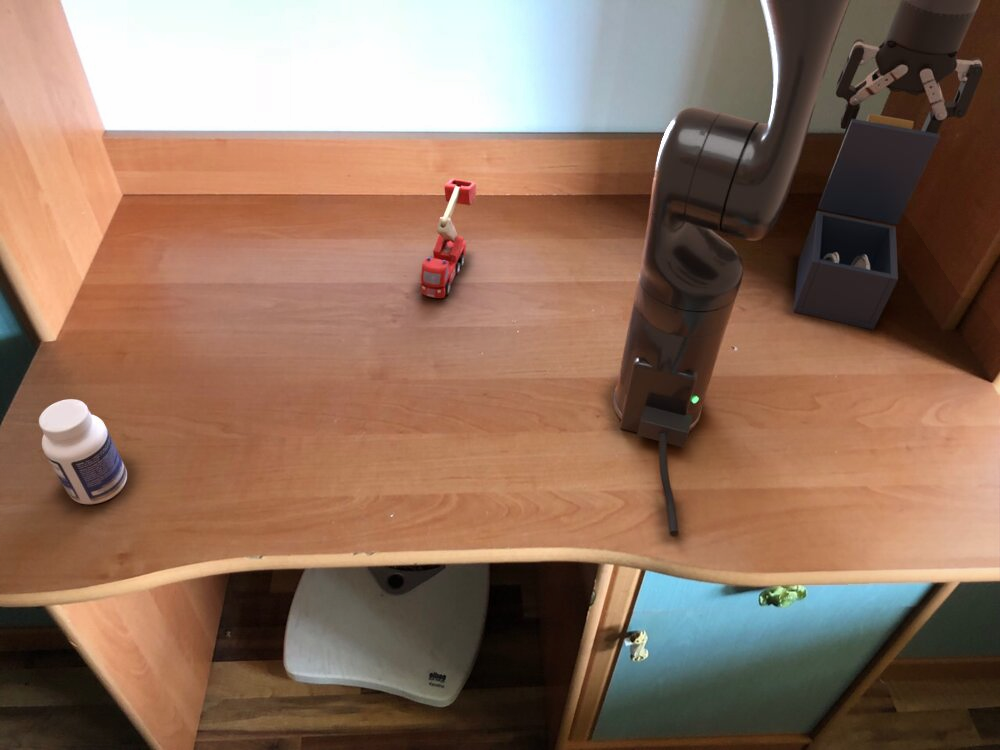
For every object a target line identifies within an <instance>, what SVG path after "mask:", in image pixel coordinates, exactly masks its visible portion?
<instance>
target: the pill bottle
mask: <svg viewBox="0 0 1000 750" xmlns="http://www.w3.org/2000/svg"><path fill="white" fill-rule="evenodd" d="M38 425H39V427H40V429H41V431H42V433H43V436H42V438H41V448H42V451H43V453H44V455H45V457H46V458H47V460H48V462H49V464H50V465H51V468H52V469H53V471H54V472H55V474H56V476H57V477H58V479H59V481H60V483H61V484H62V486H63V488H64V489H65V491H66V494H68V496H69V497H70V498H71V500H72V501H74V502H76V503H78V504H83V505H95V504H96V505H97V504H100V503H104V502H106V501H108V500H110V499H113V498H114V497H116V495H118V494H119V493H120V492H121V491H122V490H123V488H124V486H125V485H126V482H127V479H128V471H127V467H126V466H125V464H124V461H123V459H122V457H121V456H120V453H119V451H118V449H117V447H116V445H115V443H114V441H113V439H112V436H111V435H110V432H109V430H108V429H107V428H108V427H107V426H106V424H105V423H104V421H103V420H102V418H100V417H98V416H97V415H95V414H92V413H91V411H90V410H89V407H88V406H87V404H86V403H85V402H83V401H82V400H79V399H75V398H74V399H73V398H69V399H67V398H66V399H63V400H58V401H56V402H54V403H52V404H51V405H49V406H47V407H46V408H44V410H43V411H42V413H41V414H40V415H39V418H38Z"/></svg>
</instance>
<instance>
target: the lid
mask: <svg viewBox="0 0 1000 750" xmlns="http://www.w3.org/2000/svg"><path fill="white" fill-rule="evenodd" d="M914 123H915V122H914V120H909V119H904V118H898V117H891V116H886V115H879V114H875V113H869V114H868V116H867V117H866V120H861V119H857V118H856V119H852V120H851V122H850V125H849V127H848V130H847V133H846V134H844V138H843V140H842V143H841V146H840V147H839V148H840V149H839V150H838V153H837V156H836V159H835V162H834V164H833V166H832V169H831V172H830V174H829V177H828V179H827V182H826V185H825V187H824V190H823V193H822V195H821V198H820V201H819V203H818V205H817V209H818V210H819V211H824V212H829V213H834V214H839V215H844V216H849V217H854V218H859V219H864V220H869V221H874V222H880V223H885V224H890V225H896V226H897V225H898V224H899V222H900V220H901V217H902V216H903V214H904V212H905V211H906V207H907V205H908V204H909V201H910V199H911V198H912V196H913V193H914V191H915V190H916V187H917V185H918V183H919V181H920V179H921V177H922V175H923V173H924V171H925V169H926V166H927V165H928V162H929V161H930V159H931V156H932V154H933V152H934V150H935V148H936V146H937V144H938V142H939V140H940V138H941V137H940V133H931V132H925V131H921V130H918V129H913V128H914V125H915V124H914Z"/></svg>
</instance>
